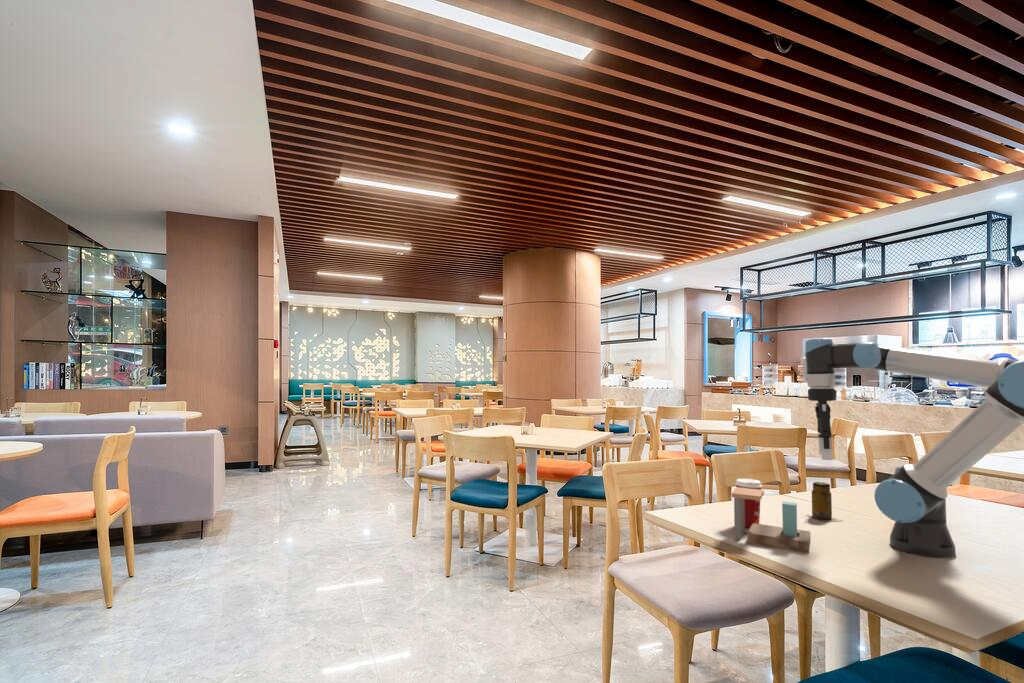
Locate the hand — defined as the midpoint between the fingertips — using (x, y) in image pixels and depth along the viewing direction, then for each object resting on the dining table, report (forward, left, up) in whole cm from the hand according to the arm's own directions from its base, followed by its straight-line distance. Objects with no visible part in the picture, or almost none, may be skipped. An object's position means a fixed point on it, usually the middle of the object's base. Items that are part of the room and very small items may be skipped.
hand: (825, 457), depth 163 cm
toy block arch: (+21, +11, -25) cm, 34 cm away
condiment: (+2, -27, -25) cm, 37 cm away
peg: (+10, +11, -25) cm, 29 cm away
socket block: (+13, +11, -25) cm, 30 cm away
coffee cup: (+23, -2, -25) cm, 34 cm away
